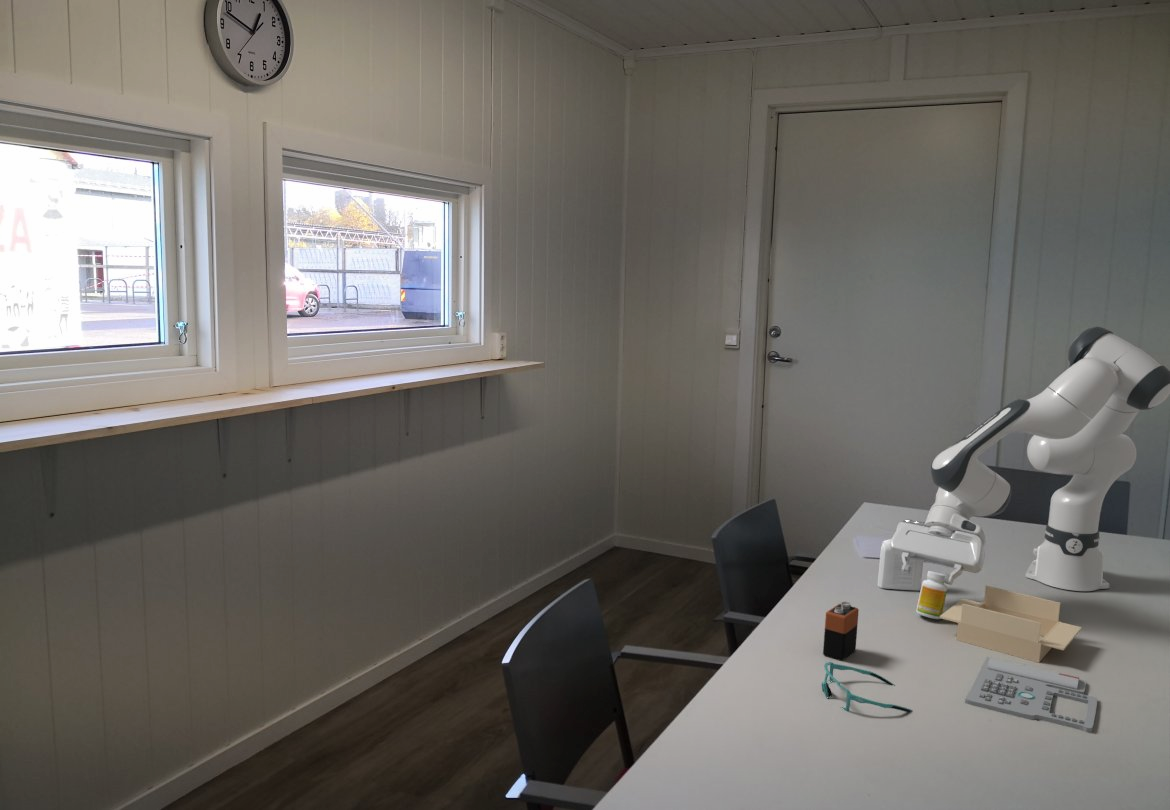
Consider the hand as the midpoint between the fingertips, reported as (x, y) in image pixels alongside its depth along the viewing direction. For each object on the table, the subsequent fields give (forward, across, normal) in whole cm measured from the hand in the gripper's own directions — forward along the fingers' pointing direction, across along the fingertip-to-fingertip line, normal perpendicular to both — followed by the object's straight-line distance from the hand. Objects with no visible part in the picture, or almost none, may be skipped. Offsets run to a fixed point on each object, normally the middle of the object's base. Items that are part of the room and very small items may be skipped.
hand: (926, 577), depth 203 cm
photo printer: (-4, -11, +16) cm, 20 cm away
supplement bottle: (+7, +2, +5) cm, 9 cm away
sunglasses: (+41, +7, -27) cm, 49 cm away
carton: (+7, +18, +6) cm, 20 cm away
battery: (+30, -4, -17) cm, 35 cm away
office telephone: (+24, +30, -11) cm, 40 cm away
